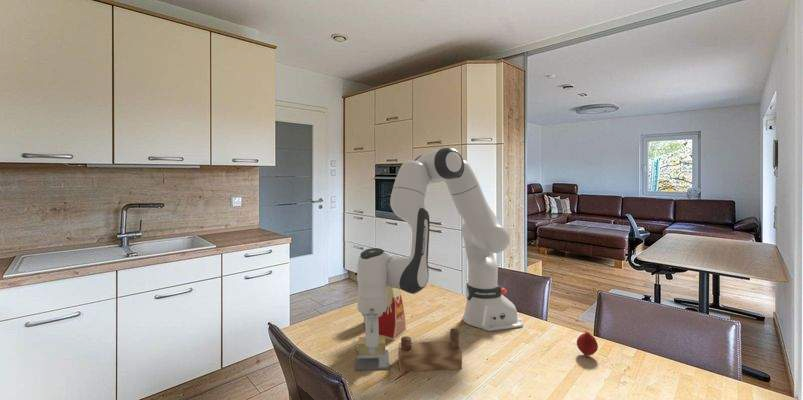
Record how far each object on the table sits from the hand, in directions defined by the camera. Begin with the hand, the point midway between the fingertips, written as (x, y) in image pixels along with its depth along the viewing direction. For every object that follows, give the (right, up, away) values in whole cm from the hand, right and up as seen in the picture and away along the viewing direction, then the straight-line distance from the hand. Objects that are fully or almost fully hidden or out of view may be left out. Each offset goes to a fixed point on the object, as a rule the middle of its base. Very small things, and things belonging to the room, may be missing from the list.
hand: (372, 347), depth 108 cm
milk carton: (+5, -3, +19) cm, 19 cm away
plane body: (+17, -4, -1) cm, 18 cm away
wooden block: (0, -1, 0) cm, 1 cm away
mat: (0, -4, 0) cm, 4 cm away
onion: (+67, -4, +4) cm, 67 cm away
